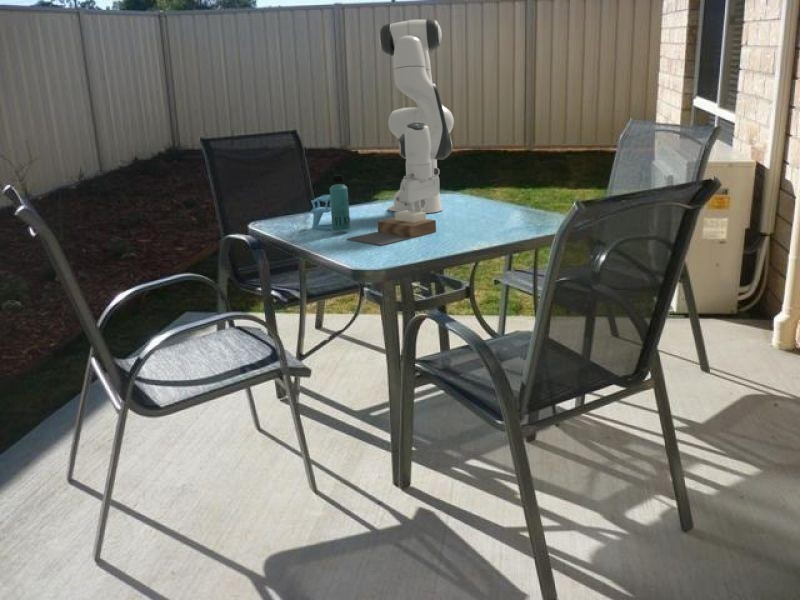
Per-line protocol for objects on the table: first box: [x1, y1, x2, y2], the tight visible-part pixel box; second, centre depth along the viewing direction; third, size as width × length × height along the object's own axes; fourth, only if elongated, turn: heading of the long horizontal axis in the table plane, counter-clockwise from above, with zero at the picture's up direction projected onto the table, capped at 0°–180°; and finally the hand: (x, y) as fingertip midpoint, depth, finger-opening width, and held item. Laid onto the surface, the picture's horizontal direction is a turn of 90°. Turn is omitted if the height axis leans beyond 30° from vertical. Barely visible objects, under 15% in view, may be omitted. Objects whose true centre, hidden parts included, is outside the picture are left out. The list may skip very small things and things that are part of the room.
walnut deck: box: [376, 216, 437, 239], centre depth 280 cm, size 16×12×4 cm
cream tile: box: [394, 210, 427, 223], centre depth 280 cm, size 9×6×2 cm, turn 44°
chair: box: [310, 194, 334, 231], centre depth 293 cm, size 8×8×12 cm
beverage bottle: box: [329, 174, 351, 231], centre depth 283 cm, size 6×7×20 cm
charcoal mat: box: [346, 231, 412, 247], centre depth 272 cm, size 17×13×1 cm
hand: (420, 212), depth 283 cm, fingers closed
